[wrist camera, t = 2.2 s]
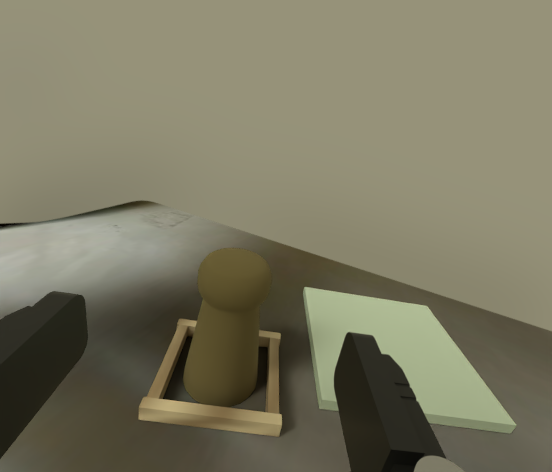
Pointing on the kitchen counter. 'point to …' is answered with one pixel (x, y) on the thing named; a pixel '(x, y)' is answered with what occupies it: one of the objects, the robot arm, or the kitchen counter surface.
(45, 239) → the kitchen counter surface
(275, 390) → the oak holder frame
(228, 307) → the cork
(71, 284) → the kitchen counter surface
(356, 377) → the robot arm
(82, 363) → the kitchen counter surface
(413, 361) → the sage board
